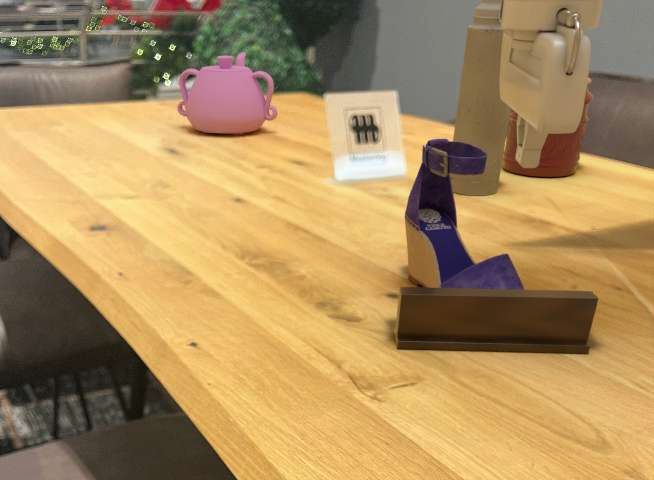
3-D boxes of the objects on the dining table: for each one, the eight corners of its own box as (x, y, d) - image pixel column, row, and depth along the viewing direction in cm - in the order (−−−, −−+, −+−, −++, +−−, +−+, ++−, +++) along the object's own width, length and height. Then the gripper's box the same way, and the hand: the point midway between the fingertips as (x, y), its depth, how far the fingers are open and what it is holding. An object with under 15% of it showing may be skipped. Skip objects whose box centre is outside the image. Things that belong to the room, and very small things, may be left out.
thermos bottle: (446, 182, 126) (473, -23, 110) (496, 184, 125) (529, -22, 109) (446, 194, 120) (474, -21, 104) (498, 196, 119) (535, -21, 103)
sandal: (481, 341, 74) (510, 177, 65) (388, 275, 89) (401, 135, 80) (552, 330, 76) (588, 170, 68) (449, 268, 91) (468, 131, 83)
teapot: (290, 122, 171) (291, 51, 163) (267, 140, 154) (267, 62, 146) (197, 117, 175) (194, 48, 167) (164, 135, 158) (159, 58, 150)
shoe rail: (577, 336, 75) (589, 287, 72) (588, 354, 72) (602, 302, 69) (393, 332, 76) (398, 282, 73) (397, 349, 72) (402, 298, 69)
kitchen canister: (534, 158, 142) (555, 49, 131) (592, 172, 133) (619, 56, 123) (485, 167, 136) (502, 52, 126) (542, 182, 127) (565, 60, 117)
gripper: (621, 13, 62) (584, 190, 70) (559, -1, 79) (535, 144, 87) (543, 14, 62) (515, 191, 71) (497, 0, 79) (479, 145, 87)
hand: (526, 165), depth 79 cm, fingers closed
